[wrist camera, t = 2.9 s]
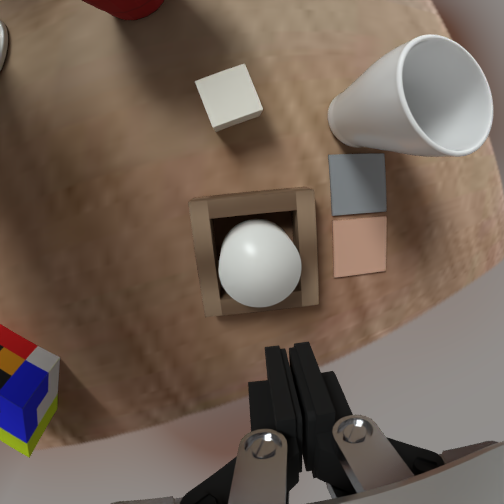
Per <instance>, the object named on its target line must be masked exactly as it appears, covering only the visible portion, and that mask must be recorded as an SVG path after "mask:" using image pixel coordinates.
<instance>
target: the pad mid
mask: <svg viewBox="0 0 504 504" xmlns="http://www.w3.org/2000/svg"><path fill="white" fill-rule="evenodd" d="M328 160H329V174H330V190H331V208H332V216H335V215H347V214H359V213H372V212H385V211H386V176H385V157H384V154H339V155H328Z"/></svg>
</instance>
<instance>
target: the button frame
mask: <svg viewBox="0 0 504 504" xmlns="http://www.w3.org/2000/svg"><path fill="white" fill-rule="evenodd" d="M188 204H189V212H190V220H191V227H192V235H193V242H194V249H195V255H196V262H197V269H198V275H199V282H200V288H201V294H202V300H203V306H204V312H205V317H211V316H222V315H232V314H242V313H252V312H261V311H270V310H279V309H287V308H295V307H303V306H311V305H318V304H319V295H318V258H317V234H316V214H315V197H314V190H313V189H310V188H308V187H298V188H286V189H274V190H263V191H253V192H243V193H233V194H224V195H215V196H206V197H198V198H193V199H191V200H190V201H189V202H188ZM281 211H291V215H292V230H293V244H294V245H295V247H296V249H297V250H298V253H299V255H300V259H301V276H300V279H299V282H298V284H297V286H296V287H295V289H294V290H293V292H292V293H291V294H290V295H289V296H288V297H287V298H285V299H284V300H283V301H281V302H279V303H277V304H275V305H272V306H268V307H250V306H246V305H243V304H241V303H239V302H237V301H236V300H234V299H233V298H232V297H231V296H230V295H229V294H228V293H227V292H226V291H225V289H224V287H221V281H220V277H219V266H218V258H217V250H216V243H215V235H214V226H213V218H221V217H231V216H240V215H250V214H260V213H270V212H281Z"/></svg>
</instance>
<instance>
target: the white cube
mask: <svg viewBox="0 0 504 504" xmlns="http://www.w3.org/2000/svg"><path fill="white" fill-rule="evenodd" d="M195 83H196V86H197V89H198V91H199V94H200V96H201V99H202V101H203V104H204V106H205V109H206V112H207V114H208V117H209V119H210V122H211V124H212V127H213V129H214V130H215V132H217V131H220V130H223V129H225V128H228V127H231V126H233V125H236V124H239V123H242V122H244V121H247V120H250V119H253V118H256V117H259V116H260V114H261V112H262V111H263V108H262V105H261V103H260V100H259V98H258V95H257V93H256V90H255V88H254V85H253V83H252V80H251V78H250V75H249V73H248V71H247V68H246V66H245V64H242V65H239V66H236V67H233V68H230V69H227V70H224V71H221V72H218V73H216V74H213V75H210V76H207V77H205V78H202V79H199V80H197V81H195Z"/></svg>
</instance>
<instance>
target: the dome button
mask: <svg viewBox="0 0 504 504" xmlns="http://www.w3.org/2000/svg"><path fill="white" fill-rule="evenodd" d="M300 276H301V259H300V255H299V253H298V250H297V249H296V247H295V245H294V244H293V242H292V241H291V239H290V238H289V237H288V235H287V234H286V232H285V231H284V230H283V229H282V228H281V227H280V226H278V225H277V224H275V223H274V222H271V221H269V220H265V219H249V220H246V221H243V222H241V223H239V224H237V225H236V226H234V227H233V228H232V229H231V230H230V231H229V232H228V234H227V235H226V237H225V238H224V241H223V243H222V247H221V253H220V260H219V277H220V281H221V284H222V286H223V287H224V289H225V291H226V292H227V293H228V294H229V295H230V296H231V297H232V298H233V299H234V300H236V301H237V302H239V303H241V304H243V305H246V306H250V307H268V306H272V305H275V304H277V303H279V302H281V301H283V300H284V299H285V298H287V297H288V296H289V295H290V294H291V293H292V292H293V290H294V289H295V287H296V286H297V284H298V282H299V279H300Z"/></svg>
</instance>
